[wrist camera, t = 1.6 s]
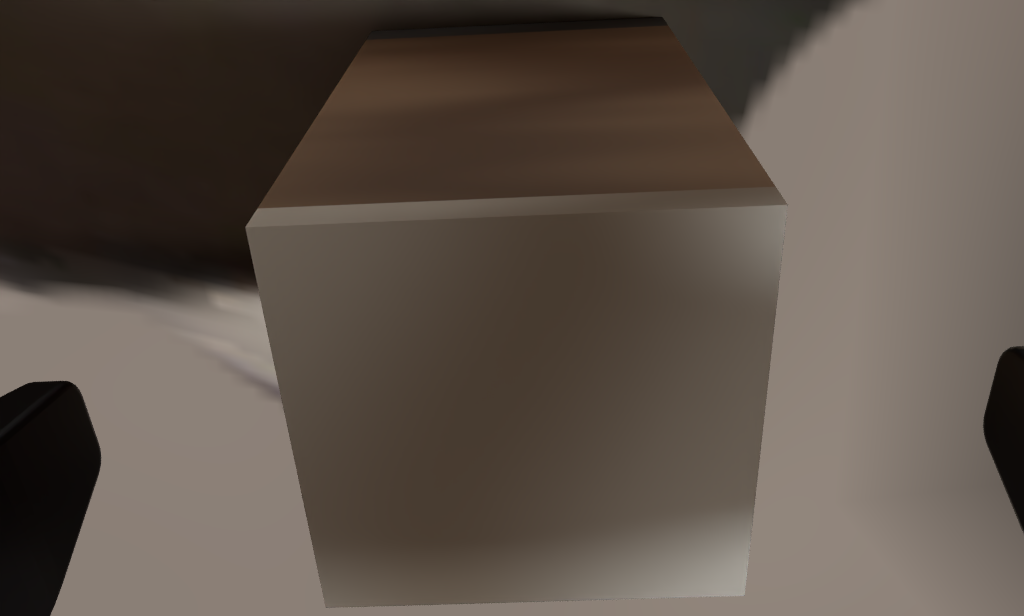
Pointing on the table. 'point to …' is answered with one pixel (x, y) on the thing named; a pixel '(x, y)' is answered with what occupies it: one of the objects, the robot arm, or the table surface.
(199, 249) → the table surface
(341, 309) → the stamp
